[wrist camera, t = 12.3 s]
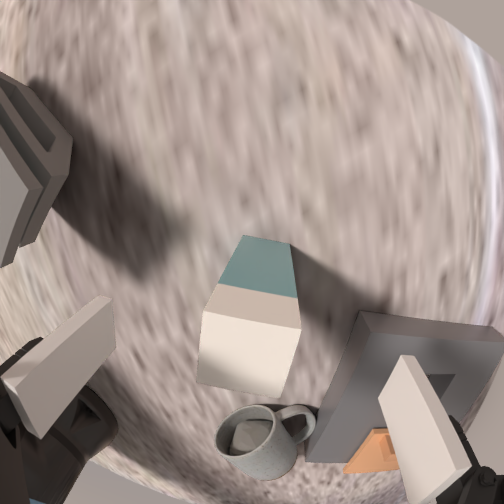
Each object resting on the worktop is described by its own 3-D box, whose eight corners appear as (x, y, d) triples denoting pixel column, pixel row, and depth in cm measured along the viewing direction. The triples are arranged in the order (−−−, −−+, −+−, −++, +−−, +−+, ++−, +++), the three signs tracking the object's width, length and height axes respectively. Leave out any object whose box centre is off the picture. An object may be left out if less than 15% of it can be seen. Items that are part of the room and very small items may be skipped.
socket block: (425, 436, 31) (432, 454, 27) (303, 439, 31) (305, 462, 27) (492, 326, 25) (509, 342, 21) (359, 310, 26) (370, 331, 22)
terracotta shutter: (400, 464, 27) (405, 484, 23) (342, 468, 27) (346, 491, 24) (433, 424, 24) (443, 446, 21) (372, 428, 25) (380, 454, 21)
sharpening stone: (-10, 116, 23) (-66, 116, 13) (15, 68, 21) (-42, 57, 11) (73, 236, 26) (0, 268, 16) (110, 179, 24) (28, 190, 14)
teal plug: (280, 286, 26) (279, 398, 12) (236, 278, 26) (196, 382, 12) (289, 243, 25) (301, 329, 11) (243, 235, 25) (203, 310, 11)
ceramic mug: (250, 446, 33) (245, 491, 25) (218, 412, 31) (207, 460, 24) (324, 425, 31) (331, 472, 23) (299, 386, 29) (304, 439, 22)
